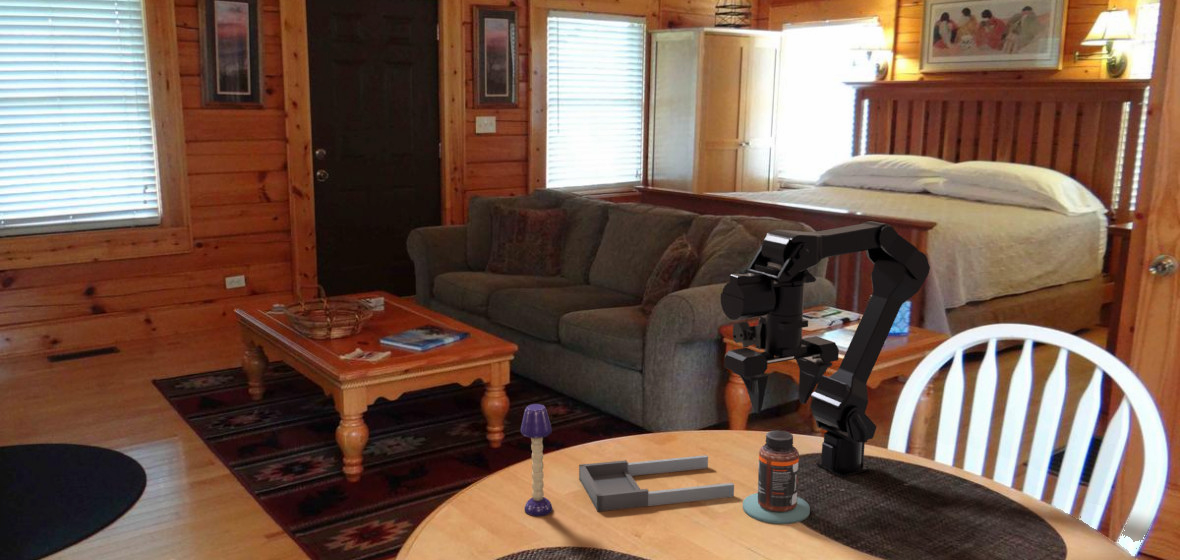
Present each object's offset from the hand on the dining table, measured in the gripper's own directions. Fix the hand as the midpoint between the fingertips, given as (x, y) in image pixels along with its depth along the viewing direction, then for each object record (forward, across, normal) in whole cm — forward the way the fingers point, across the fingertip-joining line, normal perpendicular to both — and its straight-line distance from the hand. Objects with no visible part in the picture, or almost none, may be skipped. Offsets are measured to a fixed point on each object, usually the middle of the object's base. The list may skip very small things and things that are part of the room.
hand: (780, 407), depth 151 cm
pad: (+13, +6, +7) cm, 16 cm away
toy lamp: (+13, +38, -10) cm, 41 cm away
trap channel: (+13, +18, -9) cm, 24 cm away
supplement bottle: (+13, +6, +7) cm, 16 cm away
